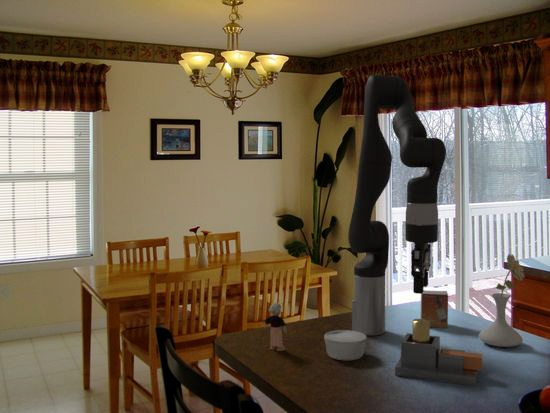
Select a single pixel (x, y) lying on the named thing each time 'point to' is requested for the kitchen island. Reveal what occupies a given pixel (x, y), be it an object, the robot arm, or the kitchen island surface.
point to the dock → (432, 363)
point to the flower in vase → (503, 313)
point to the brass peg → (421, 331)
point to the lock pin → (467, 359)
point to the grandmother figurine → (276, 327)
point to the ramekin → (345, 344)
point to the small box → (435, 308)
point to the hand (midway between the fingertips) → (420, 289)
